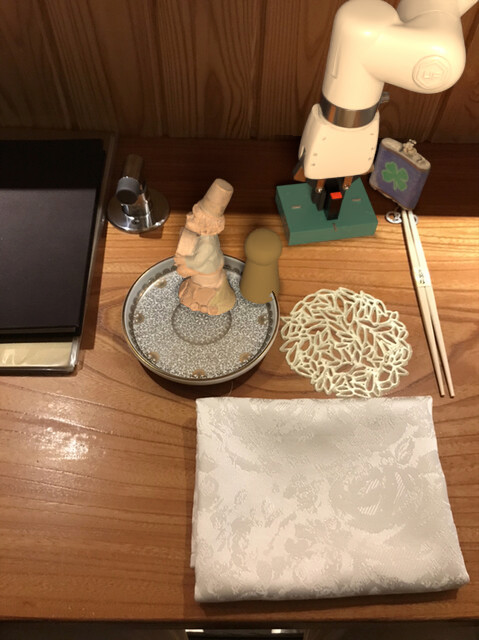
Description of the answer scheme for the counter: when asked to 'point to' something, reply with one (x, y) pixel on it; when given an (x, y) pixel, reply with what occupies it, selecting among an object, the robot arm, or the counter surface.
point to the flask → (399, 172)
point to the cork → (261, 266)
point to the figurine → (205, 254)
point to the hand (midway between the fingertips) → (326, 202)
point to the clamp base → (312, 225)
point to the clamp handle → (332, 199)
